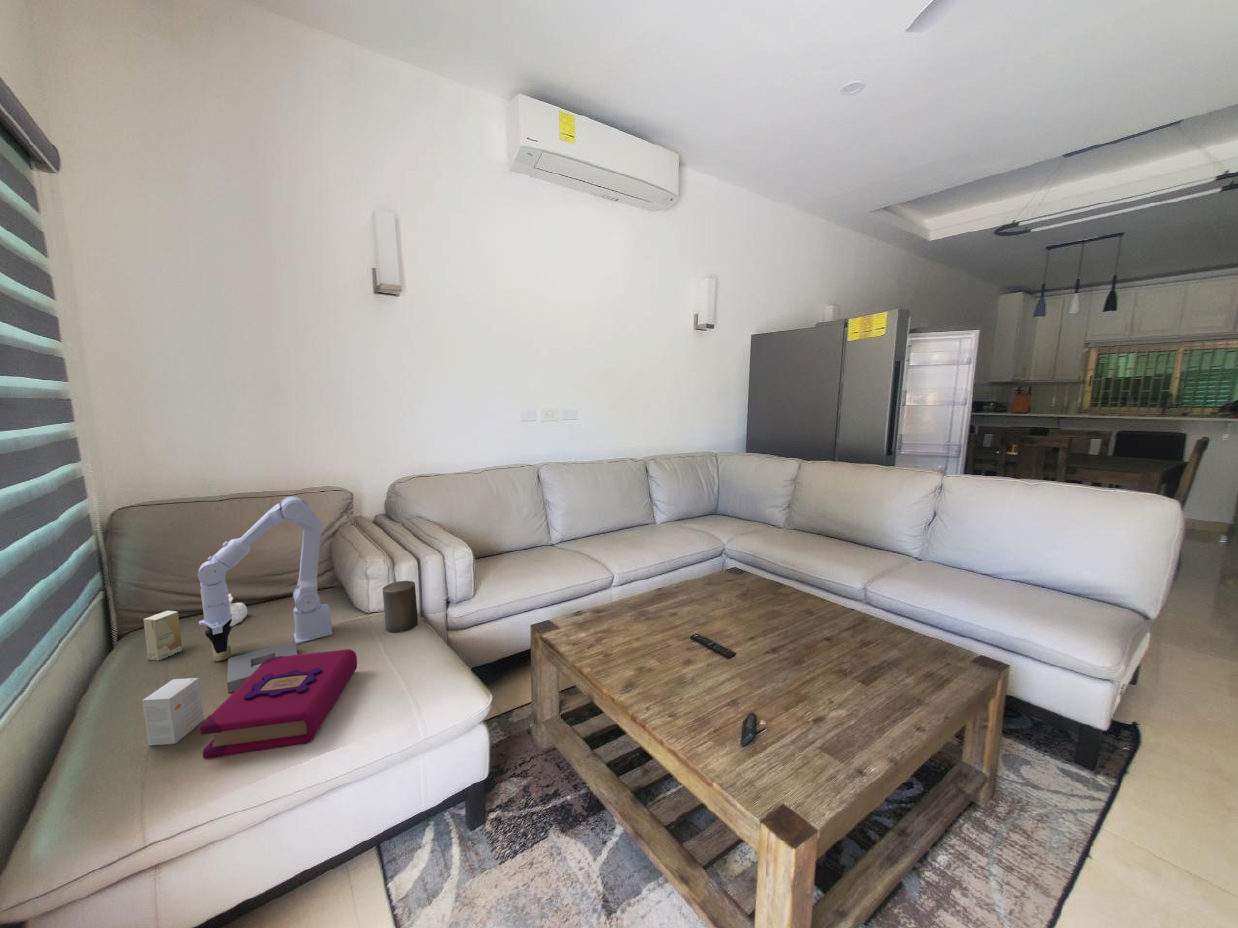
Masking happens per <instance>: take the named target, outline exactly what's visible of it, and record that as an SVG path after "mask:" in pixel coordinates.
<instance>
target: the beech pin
mask: <svg viewBox="0 0 1238 928" xmlns="http://www.w3.org/2000/svg"><path fill="white" fill-rule="evenodd" d="M230 637H231V636H230V634H229V636H228V642H227V650H226V651H225V652H221V653H216V651H215V649H214V646H213V644H212V643H211V648H212V657H213V661H214V662H221V661H225V660H228V658H232V657H233V653H232V643H231V638H230Z"/></svg>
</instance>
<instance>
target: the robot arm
mask: <svg viewBox="0 0 1238 928" xmlns="http://www.w3.org/2000/svg"><path fill="white" fill-rule="evenodd" d="M285 519H286V520H287V521H290V522H291V523H292V522H293V523H296V524H297V525H299V527H301V528H302V539H301V540H302V541H301V549H300V551H301V552H300V561H299V562H300V563H299V572H298V573H299V574H298V579H297V583H296V584H297V585H296V587H295V589H294V590H293V593H292V599H293V600H294V605H295V606H294V608H293V610H292V611H293V620H294V621H293V622H294V630H295V632H294V633H293V638H294V643H295V645H297V644H298V645H299V644H302V643H305V642H309V641H312V640H317V639H319V638H324V637H327V636H330V635H333V632H332V631H333V630H332V625H333V624H332V621H331V614H330V613H331V611H330V606H329V604H328V603H325V604H323V603H322V604H321V597H320V595H319V594H318V593H319V592H318V570H319V560H320V550H321V549H320V547H321V537H322V536H321V535H322V527H323V526H322V520H321V519H320V517H319V516H318V515H317V514H316V512H315V511H314V510H313V508H312V507H311V506H310V505H309V503H308V502H307V501H305V500H304V499H303V498H301V497H300V496H296V495H289V496H286V497H284V498H283V499H282V500H281V501H280V502H279V503H276V504H275V505H274V506H272V507H271V508H270V509H269V510H267V512H265V514H264V515H262V516H261V517H260V518H259V519H258V520H257V521H256V522H255V523H254V524H253V525H252V526H251V527H250V528H249V529H248V530H247V531H246V532H245V533H244V534H243V535H242V536H241V537H239V538H238V537H237V538H231V539H230V540H229V541H228V540H226V541H225V542H223V544H222V547H221V548H220V549H219V550H218V551H217V552H216V553H215V554H213V556H211V555H210V556H209V557H208V558H207V561H204V562H203V563H202V564H201V565H200V567H198V571H197V579H198V580H199V582H200V584H199V585H200V598H201V604H202V612H203V619H202V620H199V621H198V625H199V626H204V625H205V627H206V628H207V630H205V631H204V635H205V636H206V638H207V639H208V640H210V643H211V645H212V644H213V646H214V649H215V651H216V653H221V652H225V651H226V650H227V642H228V636H229V635H230V634H231V633H230V632H231V630H232V628H233V626H230V623H231V621H232V614H231V611H230V604H229V596H228V594H229V589H228V584H227V583H226V582H227V581H226V576H227V571H230V570H232V569H233V568H234V567H235V566H236V565H238V563H240V562H241V561H242V560H243V559H244V558H245V557H246V556H247V555H248V554H249V553H250V552H251V545H252V544H253V543H255V542H256V541H257V540H258V539H259V538H260V537H261V536H263V535H264V534H265V533H266V532H268V531H269V530H270V529H271V528H272V527H274V526H275V525H280V524H285V523H286V521H285Z"/></svg>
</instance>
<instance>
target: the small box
mask: <svg viewBox="0 0 1238 928" xmlns="http://www.w3.org/2000/svg"><path fill="white" fill-rule="evenodd" d="M141 704H142V710H143V717H144V722H145V724H144V725H145V730H146V736H147V743H148V746H162V745H163V746H164V745H175V744H177V743H178V742H179V741H181V740H182V739H183V738H184V737H185V736H186V735H188V734H189V733H190V732H192V731H193V730H194V729H195V728H196V727H197V726H199V725H200V724H201V723H202V722H203V721H204V720H205V715H204V705H203V700H202V691H201V685H200V677H192V678H188V677H187V678H173V679H172V680H171V679H170V680H169V681H168V682H166V684H164V685H163V686H161V687H160V688H158V689H157V690H155V691H154V692H153V693H150V694H149V695H148V696H146V697H145V698H143V699H142V700H141Z"/></svg>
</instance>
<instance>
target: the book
mask: <svg viewBox="0 0 1238 928" xmlns="http://www.w3.org/2000/svg"><path fill="white" fill-rule="evenodd" d="M357 668H358V658H357V653H356V652H355V651H354V650H353V649H351V648H347V649H340V650H339V649H338V650H331V651H322V652H321V651H320V652H319V651H318V652H312V653H311V652H310V653H303V654H302V653H301V654H297V655H292V656H277V657H271V658H268V659H266V660H265V661H264V662H263V663H262V664H261V665H260V666H259V668H258V669H257V670H256V671H255V672H254V673H253V674H252V675H251V676H250V677H249V678H248V679H247V680H246V681H245V682H244V683H243V684H242V685H241V686H240V687H239V688H238V689H237V690H236V691H234V692H232V693H231V695H230V696H228V697H227V699H226V700H224V701H223V703H221V704H220V706H218V708H217V709H216V710H214V711H213V713H211V714H209V715H208V716H207V717H206V718H204V720H203V721H202V722H201V723H200V724H199V725H198V726H199V727H198V728H199V734H200V735H210V734H213V739H212V740H210V742H209V743H208V744H207V745H206V746H205V747H204V748H203V750H202V758H203V759H205V760H207V759H209V760H210V759H214V758H222V757H224V756H225V757H226V756H231V755H238V754H244V753H246V754H247V753H252V752H253V753H254V752H260V751H267V750H272V749H273V750H274V749H281V748H286V747H294V746H300V745H301V746H302V745H307V744H309V743H311V742H312V741H313V739H314V738H315V736H316V735H317V733H318V731H319V729H320V728H321V727H322V725H323V724H324V722H325V720H326V718H327V716H329V714H330V711H331V710H332V709H333V707H334V706H335V704H336V702H337V701H338V699H339V697H340V696H341V694H342V693H343V691H344V690H345V688H346V686H347V685H348V684H349V682H350V681H351V679H352V676H353V675H354V673H355V671H356V670H357Z"/></svg>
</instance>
